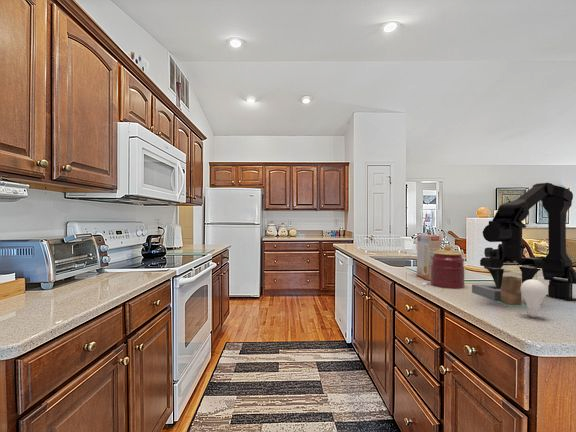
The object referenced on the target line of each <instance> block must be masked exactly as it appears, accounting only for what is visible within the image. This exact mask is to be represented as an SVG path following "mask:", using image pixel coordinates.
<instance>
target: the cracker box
mask: <svg viewBox="0 0 576 432" xmlns="http://www.w3.org/2000/svg"><path fill="white" fill-rule="evenodd" d="M416 240H417V243H416V245H417V247H416V250H417V251H416V276H417V277H418V278H421V279H423V280H426V281H430V282H431V265H432V259H431V257H432V256H434V253H433V252H434V251H436V250H438V249H442V248H441V245H442V243H441V240H442V236H441V235H435V234H423V233H422V234H417V237H416Z"/></svg>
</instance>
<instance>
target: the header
mask: <svg viewBox="0 0 576 432" xmlns="http://www.w3.org/2000/svg"><path fill="white" fill-rule="evenodd" d="M471 293H472V294H475V295H478V296H480V297H481V296H482V297H485V298H487V299H489V300H493V301H501V288H500V289H497V287H496V285H495V283H494V284H493V283H492V284H489V283H488V284H487V283H485V284H481V283H480V284H479V283H478V284H477V283H476V284H475V283H473V284H471Z"/></svg>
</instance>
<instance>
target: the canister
mask: <svg viewBox="0 0 576 432" xmlns="http://www.w3.org/2000/svg"><path fill="white" fill-rule="evenodd" d="M433 253H434V256H432V257H431V259H432V265H431V281H430V285H431V286H433V287H436V288H442V289H453V290H455V289H456V290H457V289H464V288H465V285H466V284H465V269H466V268H465V265H464V262H465V260H466V259H465V258H463V253H462V252H461V251H460V250H457V249H456V250H455V249H452V246H451V245H449V244H445V245H444V246H443V249H442V248H441V249H438V250H436V251H434V252H433Z"/></svg>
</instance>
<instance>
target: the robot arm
mask: <svg viewBox="0 0 576 432" xmlns="http://www.w3.org/2000/svg"><path fill="white" fill-rule="evenodd" d="M573 199H574V194H573V192H572V191H571V190H570V189H569V188H567V187H563V186H559V185H555V184H553V183H551V182H540V183H535V184H533V185H532V187H531V188H529V189H528V190H527V191H525V193H523V194H522V195H521V196H519V197H517V198H516V199H515V200H511V201H507V202H504V203H502V204H500V206H499V207H498V209H497V210H496V213H495V215H494V217H493V219H492V220H488V224H487V225H486V226H485V227H484V228H483V230H482V236H483V239H484V240H485V241H487V242H489V243H498V245H497V248H495V249H494V248H493V247H485V248H484V251H483V252H484V253H483V254H484V257H482V258H481V259H480V260H479V266H481V267H483V268H484V269H487V271H488V272H489V273H490V275H491V277H492V280H493V282H494V284H495V285H496V287H497V289H500V288H501V284H502V278H503V276H504V272H505V271H504V270H505V268H503V267H504V266H518V268H519V270H520V271H521V279H522V280H521V284H522V283H523V282H524V281H526V280H530V279H534V277H535V276H536V274H537V273H538V272H539V271H542V276H543V280H544V281H548V285H547V288H548V289H547V290H548V291H547V293H548V294H546V296H545V297H550V298H554V299H558V300H561V301H576V298H575V297H573V285H576V270H575V269H574V267H573V261H572V260H571V258H570V257H569V256H568V254H567V229H566V228H567V226H566V225H567V219H566V217H567V215H566V214H567V212H568V211H569V210H570V208H571V207H572V203H573ZM540 201H541V204H542V207H543V209H544V210H545V211H546V212H547V215H548V216H547V218H548V219H547V222H548V224H547V225H548V227H547V230H548V237H547V238H548V239H547V240H548V252H547V254H546V256H545V257H542V258H536V257H523V249H525V250H526V245H524V244H523V229H526V228H527V225H526V224H524V223H523V221H524V220H525V219H526V218H528V216H529V215H530V209H531V208H532V207H534V206H535V205H536V204H538V203H539V202H540Z"/></svg>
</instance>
